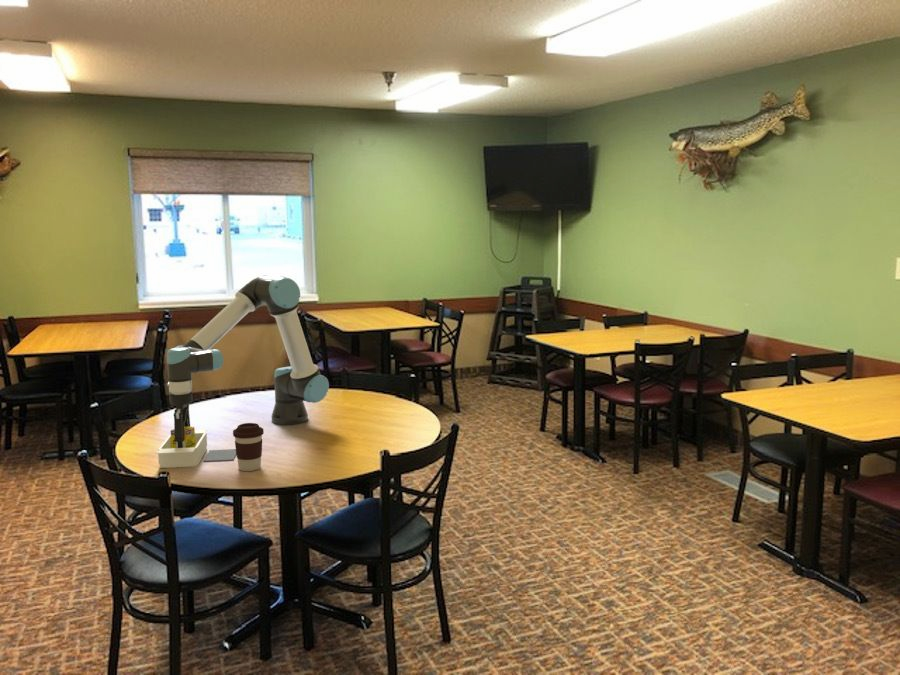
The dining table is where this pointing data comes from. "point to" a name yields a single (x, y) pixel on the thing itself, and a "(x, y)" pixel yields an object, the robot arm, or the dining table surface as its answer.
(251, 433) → the coffee cup
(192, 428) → the supplement box
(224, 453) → the mat
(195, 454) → the carton
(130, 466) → the dining table surface
